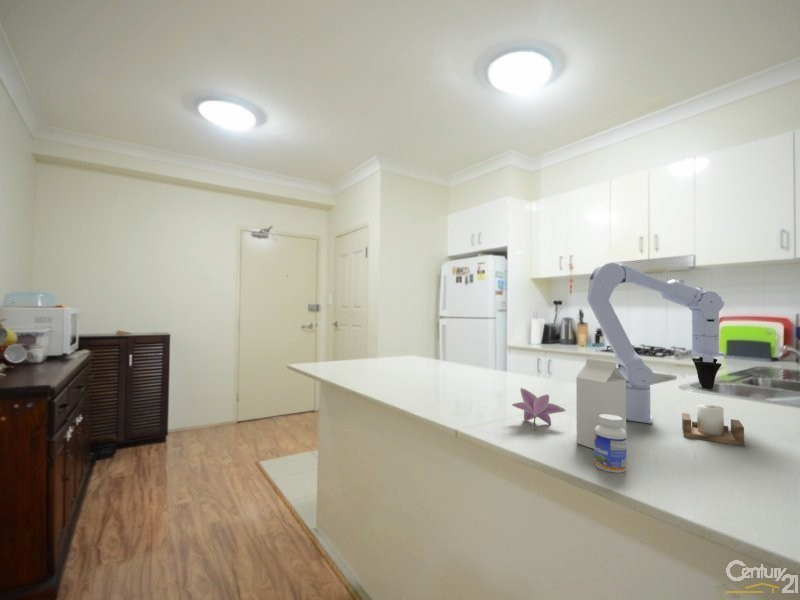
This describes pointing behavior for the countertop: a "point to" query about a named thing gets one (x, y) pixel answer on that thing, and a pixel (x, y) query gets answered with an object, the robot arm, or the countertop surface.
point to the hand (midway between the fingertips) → (705, 386)
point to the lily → (537, 407)
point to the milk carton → (598, 397)
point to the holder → (729, 436)
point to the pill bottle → (610, 444)
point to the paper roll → (710, 419)
